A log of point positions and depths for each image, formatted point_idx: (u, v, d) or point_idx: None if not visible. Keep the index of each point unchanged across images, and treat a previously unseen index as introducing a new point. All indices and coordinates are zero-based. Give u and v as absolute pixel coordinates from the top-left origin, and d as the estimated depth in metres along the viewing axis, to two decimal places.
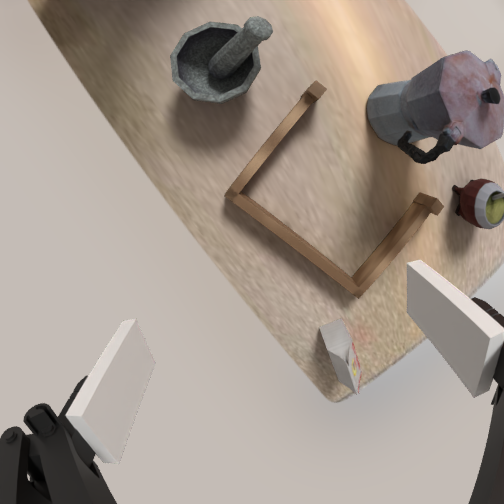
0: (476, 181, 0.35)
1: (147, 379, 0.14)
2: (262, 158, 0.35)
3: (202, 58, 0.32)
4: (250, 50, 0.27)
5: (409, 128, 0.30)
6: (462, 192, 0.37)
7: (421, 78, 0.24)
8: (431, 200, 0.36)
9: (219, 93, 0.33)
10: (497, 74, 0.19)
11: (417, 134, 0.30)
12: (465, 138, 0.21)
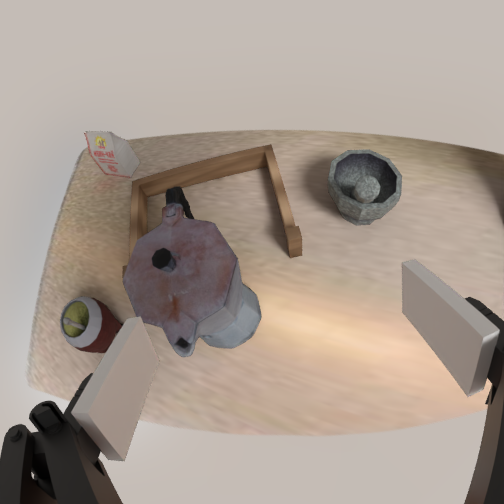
0: (109, 332, 0.35)
1: (152, 377, 0.14)
2: (274, 175, 0.43)
3: (378, 194, 0.41)
4: None
5: None
6: (114, 318, 0.38)
7: None
8: None
9: (341, 183, 0.42)
10: (173, 331, 0.21)
11: None
12: (157, 227, 0.25)
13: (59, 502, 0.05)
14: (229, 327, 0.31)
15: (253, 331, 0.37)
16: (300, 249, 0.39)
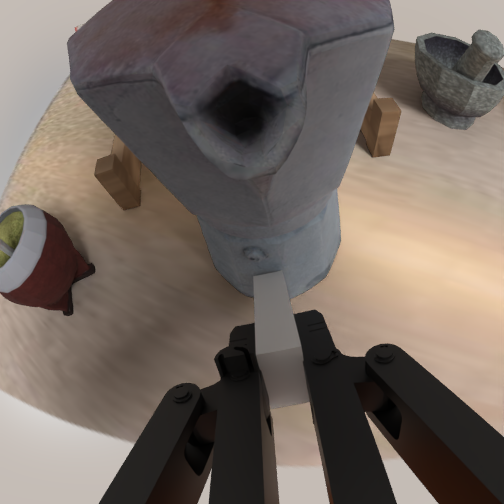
0: (59, 266, 0.18)
1: None
2: None
3: None
4: (464, 55, 0.17)
5: None
6: None
7: None
8: (118, 171, 0.22)
9: None
10: (203, 57, 0.04)
11: None
12: None
13: (215, 459, 0.06)
14: (309, 228, 0.14)
15: (330, 265, 0.20)
16: (392, 139, 0.22)
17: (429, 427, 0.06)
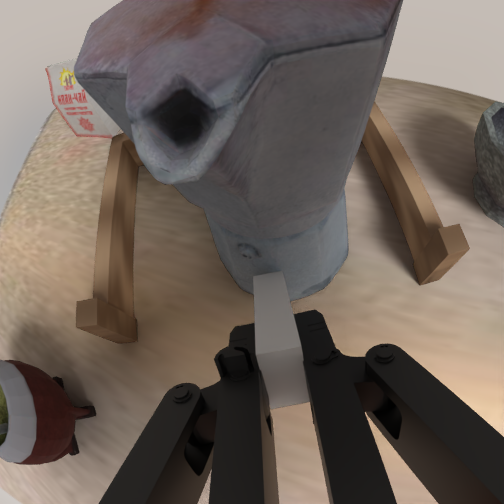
0: (58, 437, 0.13)
1: None
2: (382, 129, 0.21)
3: None
4: None
5: None
6: (68, 402, 0.16)
7: None
8: (105, 319, 0.17)
9: None
10: (162, 64, 0.04)
11: None
12: None
13: (214, 459, 0.06)
14: (305, 237, 0.14)
15: (330, 277, 0.19)
16: (447, 269, 0.17)
17: (429, 427, 0.06)
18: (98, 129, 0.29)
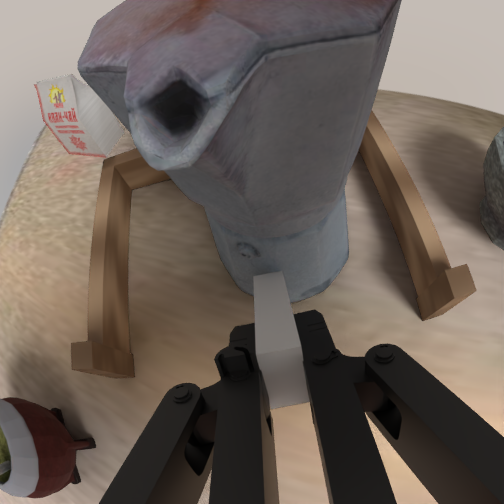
0: (59, 474, 0.12)
1: None
2: (387, 154, 0.20)
3: None
4: None
5: None
6: (68, 438, 0.15)
7: None
8: (101, 361, 0.16)
9: None
10: (159, 57, 0.04)
11: None
12: None
13: (215, 459, 0.06)
14: (304, 237, 0.14)
15: (330, 280, 0.19)
16: (451, 307, 0.16)
17: (429, 427, 0.06)
18: (90, 148, 0.29)
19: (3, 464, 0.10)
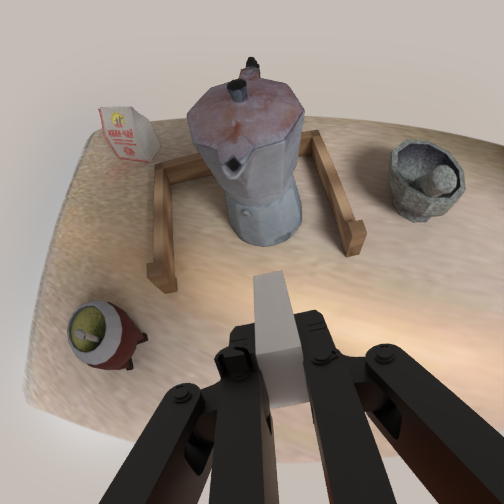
0: (130, 345, 0.29)
1: None
2: (326, 163, 0.37)
3: None
4: (425, 180, 0.28)
5: None
6: None
7: None
8: (164, 273, 0.32)
9: None
10: (228, 150, 0.21)
11: None
12: None
13: (214, 459, 0.06)
14: (272, 206, 0.31)
15: (290, 233, 0.36)
16: (360, 247, 0.33)
17: (429, 427, 0.06)
18: (138, 155, 0.45)
19: (96, 336, 0.26)
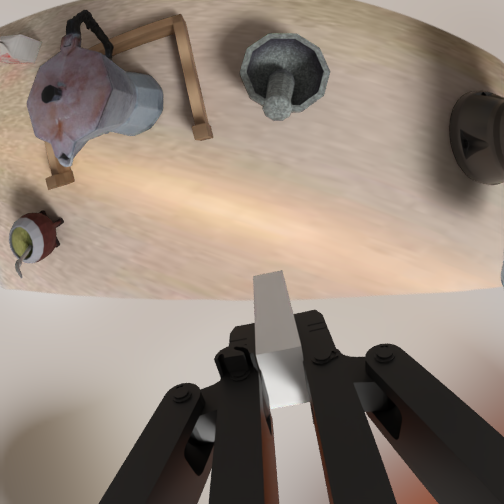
0: (51, 240, 0.38)
1: None
2: (182, 55, 0.32)
3: (302, 76, 0.34)
4: (267, 94, 0.29)
5: None
6: (51, 222, 0.39)
7: (123, 84, 0.24)
8: (59, 181, 0.36)
9: (260, 63, 0.33)
10: (58, 148, 0.22)
11: None
12: (57, 54, 0.19)
13: (214, 459, 0.06)
14: (122, 126, 0.31)
15: (152, 123, 0.37)
16: (210, 137, 0.37)
17: (429, 427, 0.06)
18: (23, 61, 0.32)
19: (28, 247, 0.35)
